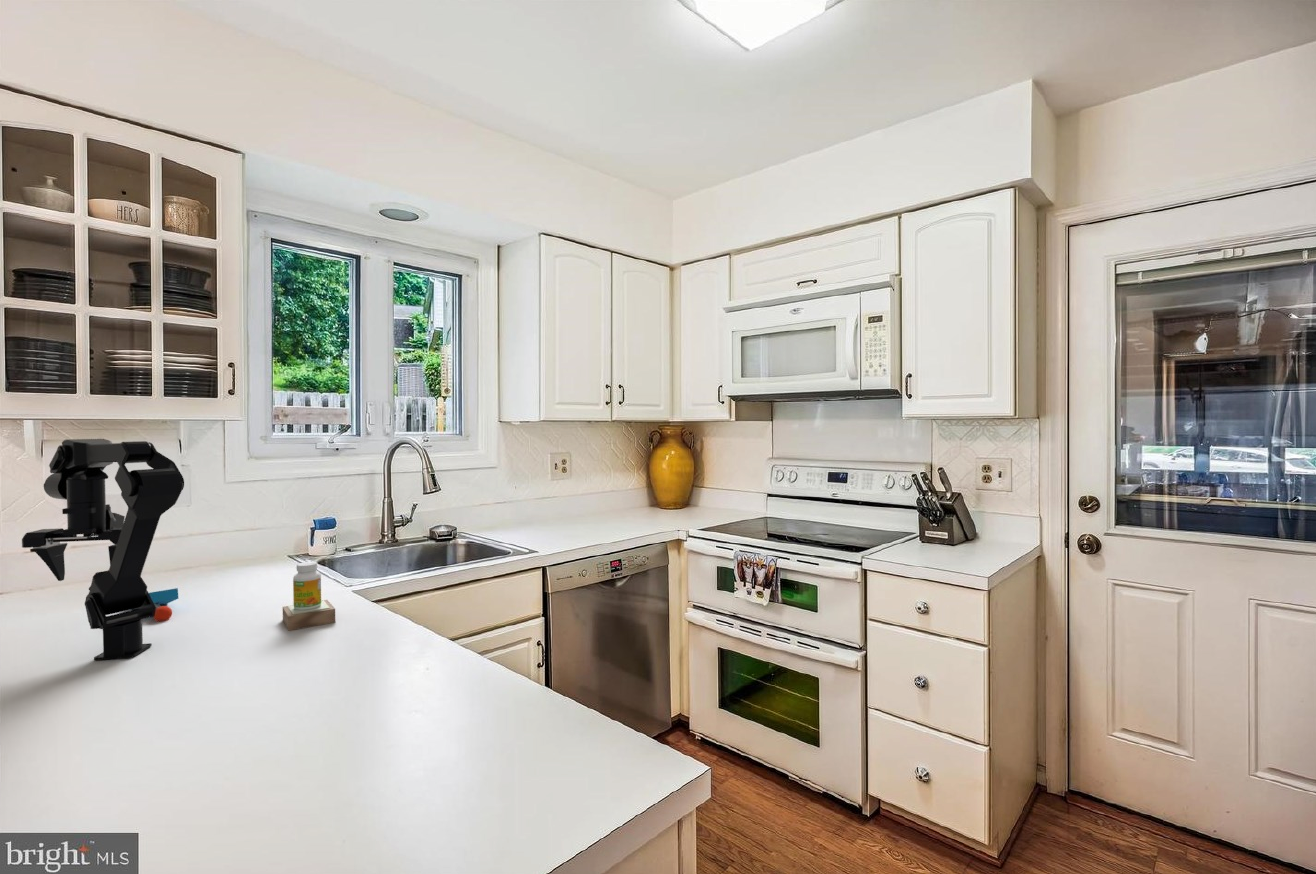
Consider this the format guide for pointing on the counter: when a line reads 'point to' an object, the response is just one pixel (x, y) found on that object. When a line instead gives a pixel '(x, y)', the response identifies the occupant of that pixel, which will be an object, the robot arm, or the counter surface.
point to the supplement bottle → (307, 586)
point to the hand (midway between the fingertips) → (88, 579)
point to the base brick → (308, 616)
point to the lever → (163, 598)
